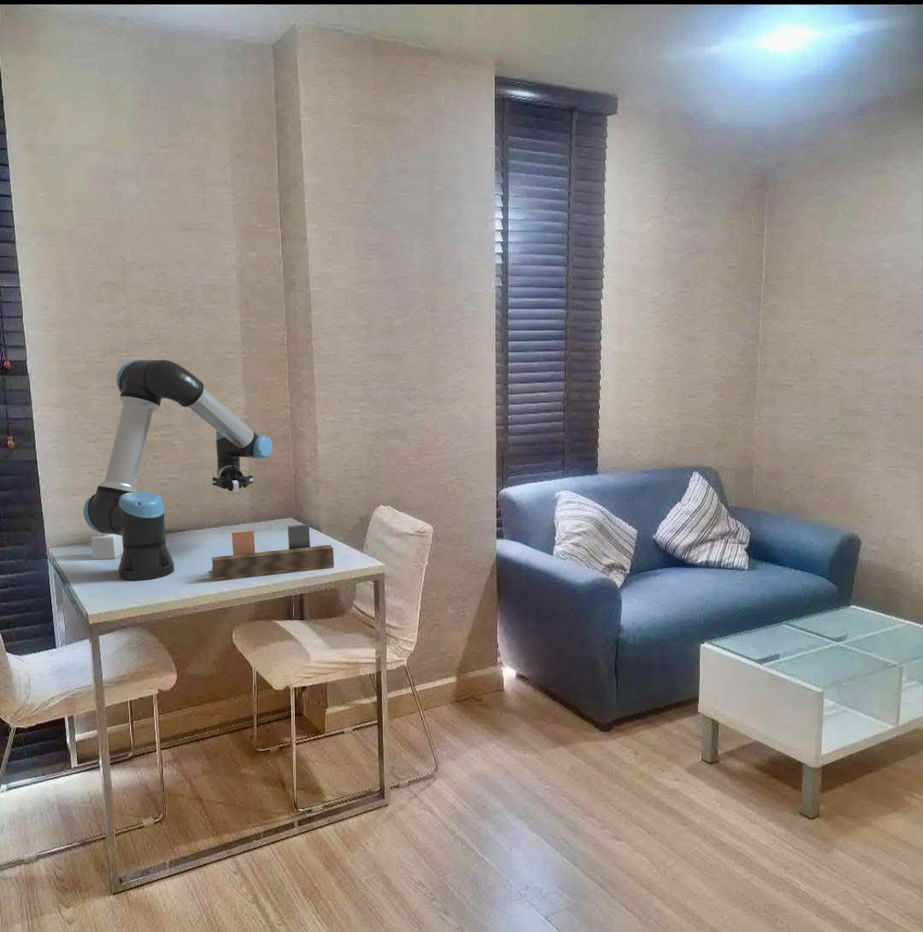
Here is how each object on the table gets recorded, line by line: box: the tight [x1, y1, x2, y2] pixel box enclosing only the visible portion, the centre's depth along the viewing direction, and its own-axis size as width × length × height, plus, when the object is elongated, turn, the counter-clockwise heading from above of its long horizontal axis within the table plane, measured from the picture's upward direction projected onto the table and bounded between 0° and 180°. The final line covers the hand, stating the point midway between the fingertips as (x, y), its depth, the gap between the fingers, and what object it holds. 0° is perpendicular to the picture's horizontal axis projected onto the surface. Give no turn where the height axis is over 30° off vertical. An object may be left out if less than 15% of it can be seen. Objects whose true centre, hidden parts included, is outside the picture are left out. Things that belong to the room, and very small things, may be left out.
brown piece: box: [211, 544, 335, 582], centre depth 229 cm, size 34×12×6 cm, turn 111°
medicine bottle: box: [90, 530, 123, 560], centre depth 247 cm, size 7×7×12 cm
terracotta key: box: [231, 529, 256, 555], centre depth 226 cm, size 6×2×11 cm, turn 111°
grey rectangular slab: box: [287, 523, 311, 549], centre depth 231 cm, size 6×2×11 cm, turn 111°
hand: (236, 487), depth 239 cm, fingers closed
